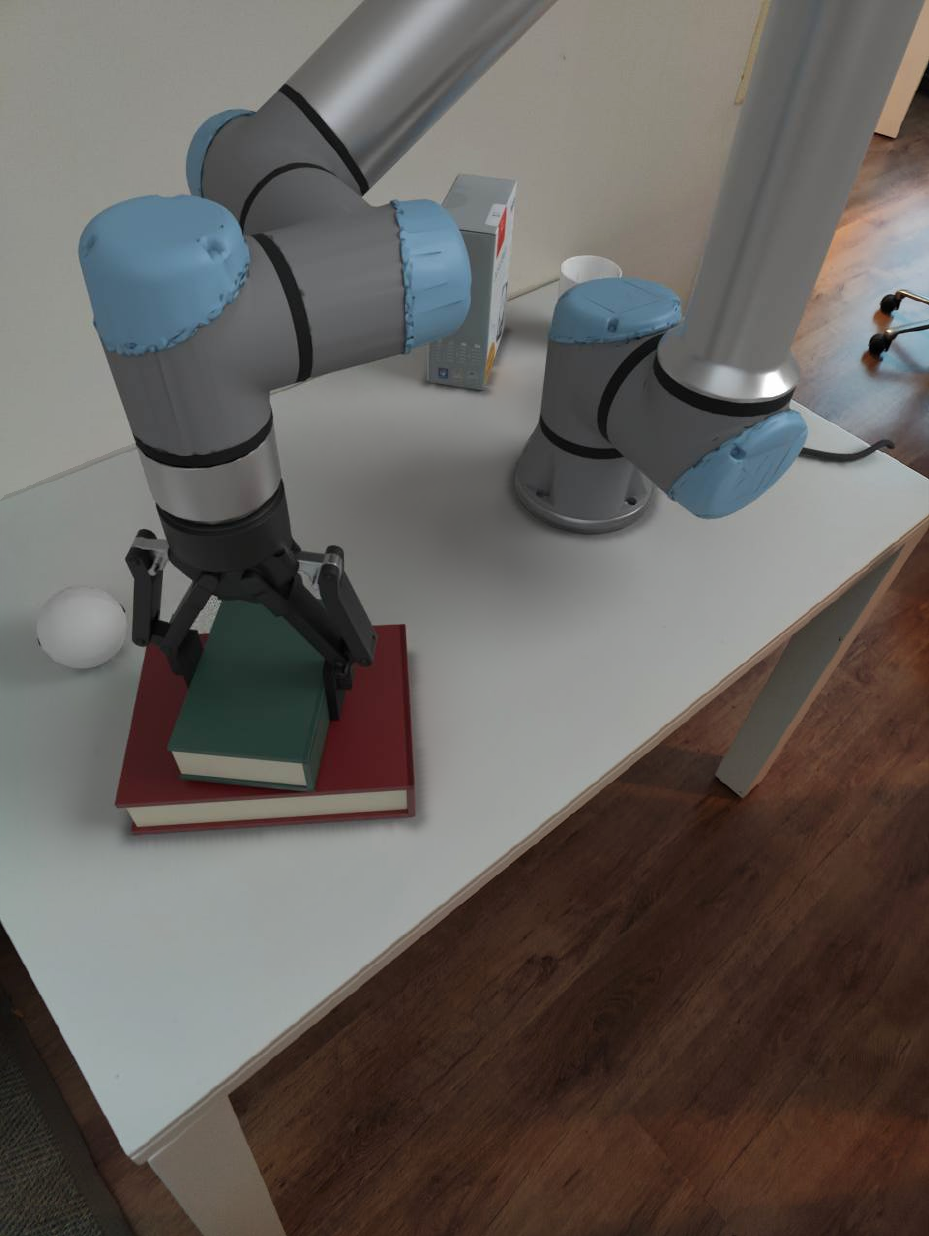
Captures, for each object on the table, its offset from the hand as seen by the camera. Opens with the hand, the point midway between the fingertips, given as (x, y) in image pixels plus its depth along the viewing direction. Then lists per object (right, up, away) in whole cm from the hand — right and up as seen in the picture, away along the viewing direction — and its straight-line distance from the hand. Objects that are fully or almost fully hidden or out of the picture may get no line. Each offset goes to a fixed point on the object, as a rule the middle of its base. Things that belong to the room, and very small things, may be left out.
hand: (271, 700), depth 65 cm
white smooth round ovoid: (-19, +4, +10) cm, 22 cm away
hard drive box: (+16, +41, +44) cm, 62 cm away
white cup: (+31, +45, +47) cm, 72 cm away
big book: (0, -4, +4) cm, 6 cm away
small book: (0, 0, 0) cm, 0 cm away
